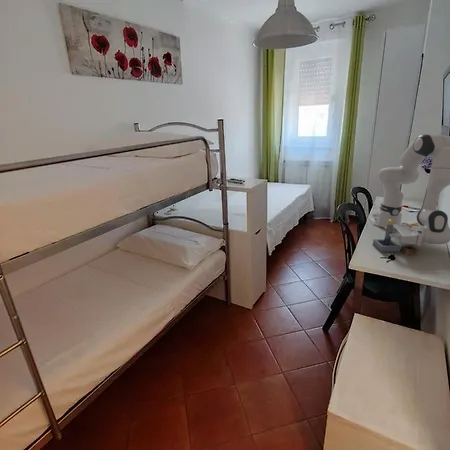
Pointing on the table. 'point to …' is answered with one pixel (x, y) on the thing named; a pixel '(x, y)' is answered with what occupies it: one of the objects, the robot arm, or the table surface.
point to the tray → (386, 249)
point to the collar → (409, 250)
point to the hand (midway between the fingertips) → (387, 231)
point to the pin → (388, 232)
